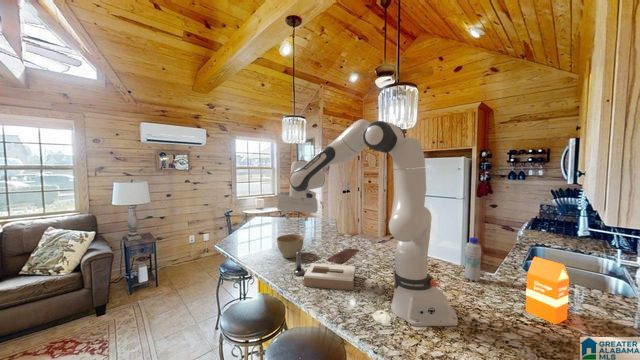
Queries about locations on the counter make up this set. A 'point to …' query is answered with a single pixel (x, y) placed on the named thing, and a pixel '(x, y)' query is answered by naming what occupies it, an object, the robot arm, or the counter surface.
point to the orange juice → (547, 290)
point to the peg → (298, 265)
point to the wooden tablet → (342, 256)
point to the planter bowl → (290, 245)
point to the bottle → (472, 260)
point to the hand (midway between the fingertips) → (296, 219)
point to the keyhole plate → (330, 276)
